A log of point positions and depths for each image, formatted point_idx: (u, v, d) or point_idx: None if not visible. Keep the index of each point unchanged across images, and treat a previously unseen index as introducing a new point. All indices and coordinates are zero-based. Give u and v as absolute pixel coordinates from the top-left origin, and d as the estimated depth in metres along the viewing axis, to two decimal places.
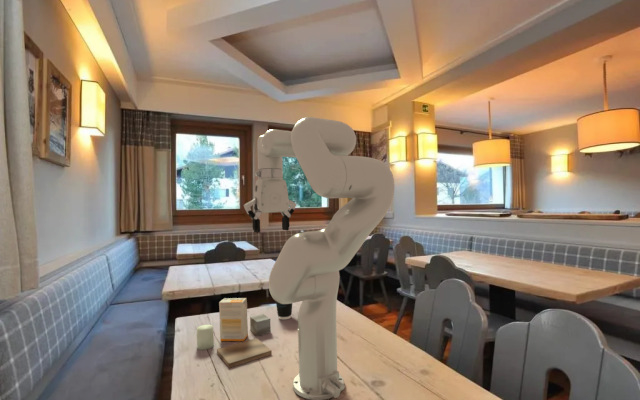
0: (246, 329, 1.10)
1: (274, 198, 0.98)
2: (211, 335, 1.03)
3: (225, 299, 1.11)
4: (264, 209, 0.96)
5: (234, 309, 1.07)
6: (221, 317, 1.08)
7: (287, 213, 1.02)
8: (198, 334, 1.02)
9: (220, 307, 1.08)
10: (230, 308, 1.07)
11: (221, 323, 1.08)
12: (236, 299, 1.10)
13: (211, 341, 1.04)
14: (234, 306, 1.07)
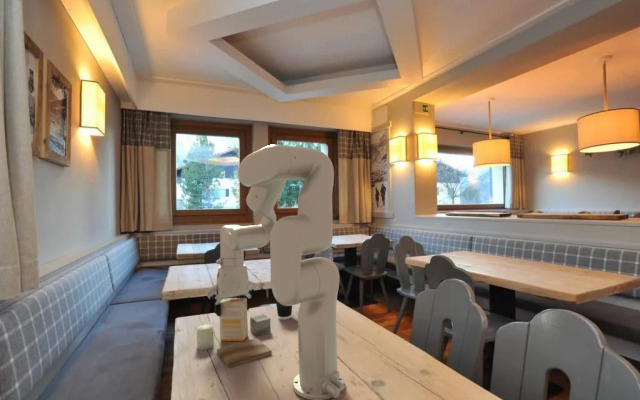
0: (246, 329, 1.10)
1: (234, 284, 1.08)
2: (211, 335, 1.03)
3: (225, 299, 1.11)
4: (224, 295, 1.06)
5: (234, 309, 1.07)
6: (221, 317, 1.08)
7: (247, 294, 1.12)
8: (198, 334, 1.02)
9: None
10: (230, 308, 1.08)
11: (221, 323, 1.08)
12: (236, 299, 1.10)
13: (211, 341, 1.04)
14: (234, 306, 1.07)
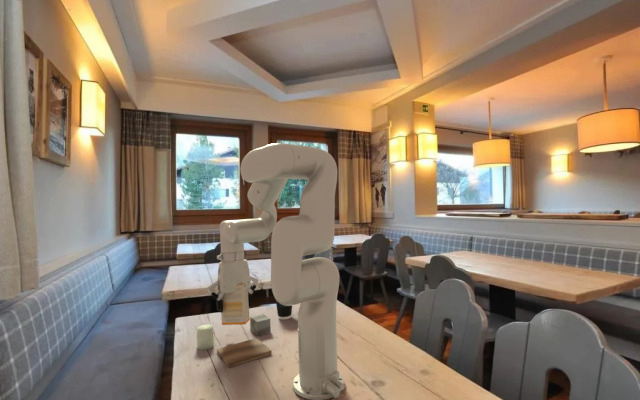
0: (247, 313, 1.09)
1: (236, 279, 1.07)
2: (211, 335, 1.03)
3: None
4: (226, 291, 1.05)
5: (235, 292, 1.07)
6: None
7: (249, 290, 1.11)
8: (198, 334, 1.02)
9: None
10: None
11: None
12: None
13: (211, 341, 1.04)
14: None
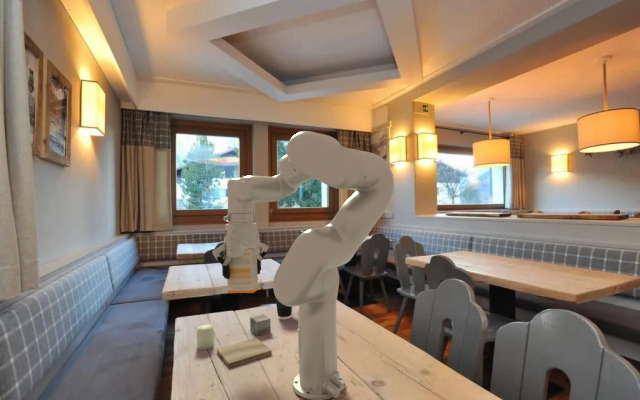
0: (256, 281, 0.99)
1: (244, 243, 0.96)
2: (211, 335, 1.03)
3: None
4: (233, 255, 0.94)
5: (243, 257, 0.96)
6: None
7: (258, 256, 1.00)
8: (198, 334, 1.02)
9: None
10: None
11: None
12: None
13: (211, 341, 1.04)
14: None
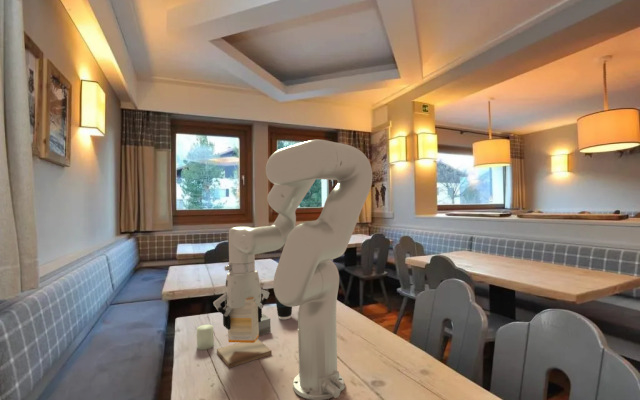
0: (257, 329, 0.99)
1: (245, 293, 0.96)
2: (211, 335, 1.03)
3: None
4: (234, 306, 0.94)
5: (244, 307, 0.96)
6: None
7: (259, 304, 1.00)
8: (198, 334, 1.02)
9: None
10: None
11: None
12: None
13: (211, 341, 1.04)
14: None
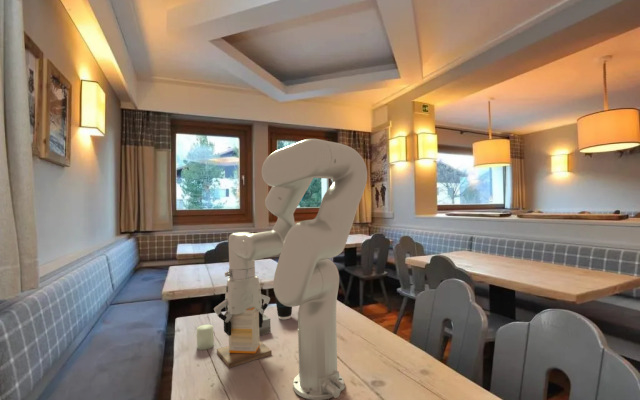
0: (258, 340, 0.99)
1: (246, 298, 0.96)
2: (211, 335, 1.03)
3: None
4: (235, 312, 0.94)
5: (245, 317, 0.96)
6: None
7: (260, 310, 1.00)
8: (198, 334, 1.02)
9: None
10: (240, 316, 0.96)
11: None
12: None
13: (211, 341, 1.04)
14: (244, 314, 0.96)
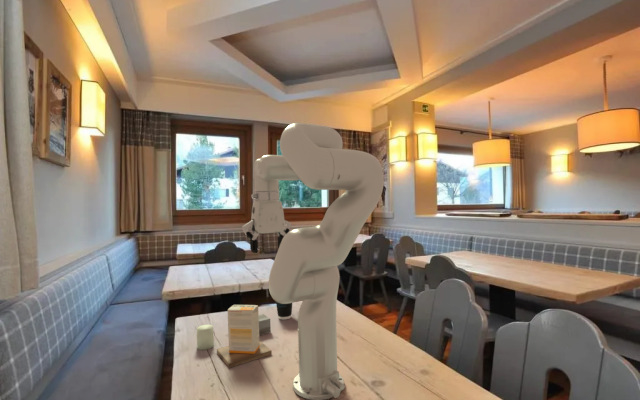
0: (257, 340, 0.98)
1: (271, 219, 1.02)
2: (211, 335, 1.03)
3: (234, 306, 0.99)
4: (261, 230, 1.00)
5: (244, 317, 0.96)
6: (230, 326, 0.97)
7: (283, 233, 1.07)
8: (198, 334, 1.02)
9: (229, 315, 0.97)
10: (239, 316, 0.96)
11: (230, 333, 0.97)
12: (246, 306, 0.99)
13: (211, 341, 1.04)
14: (244, 315, 0.96)
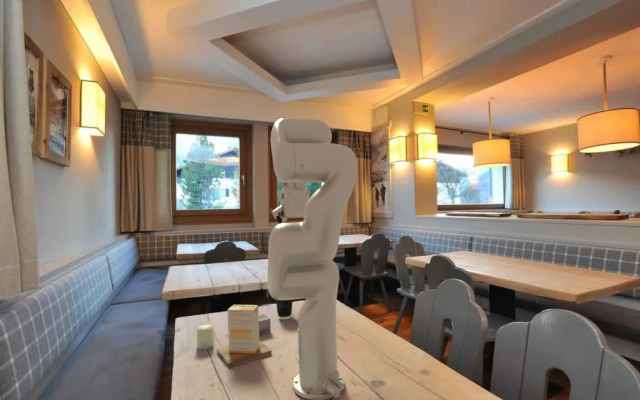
0: (257, 340, 0.98)
1: (298, 205, 1.10)
2: (211, 335, 1.03)
3: (234, 306, 0.99)
4: (290, 215, 1.08)
5: (244, 317, 0.96)
6: (230, 326, 0.97)
7: None
8: (198, 334, 1.02)
9: (229, 315, 0.97)
10: (239, 316, 0.96)
11: (230, 333, 0.97)
12: (246, 306, 0.99)
13: (211, 341, 1.04)
14: (244, 315, 0.96)
